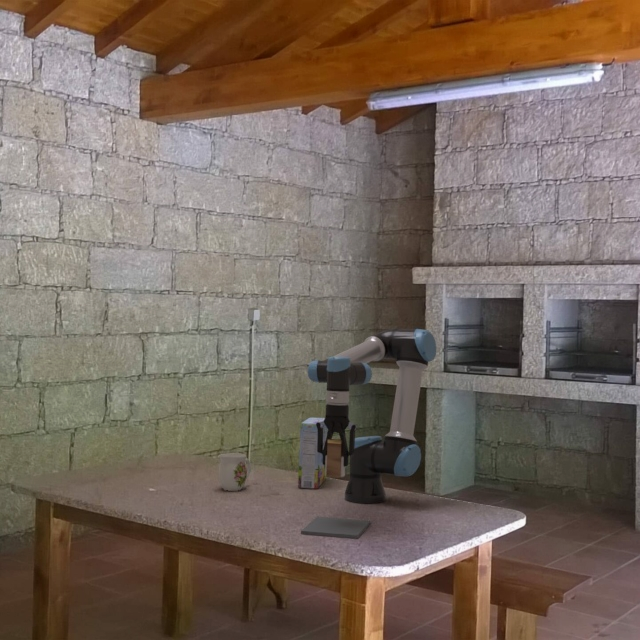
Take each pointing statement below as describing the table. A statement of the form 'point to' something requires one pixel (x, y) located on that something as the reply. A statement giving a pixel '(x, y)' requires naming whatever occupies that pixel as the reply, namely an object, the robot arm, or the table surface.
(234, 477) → the pitcher
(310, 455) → the snack box
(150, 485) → the table surface
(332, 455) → the post
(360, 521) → the mat
